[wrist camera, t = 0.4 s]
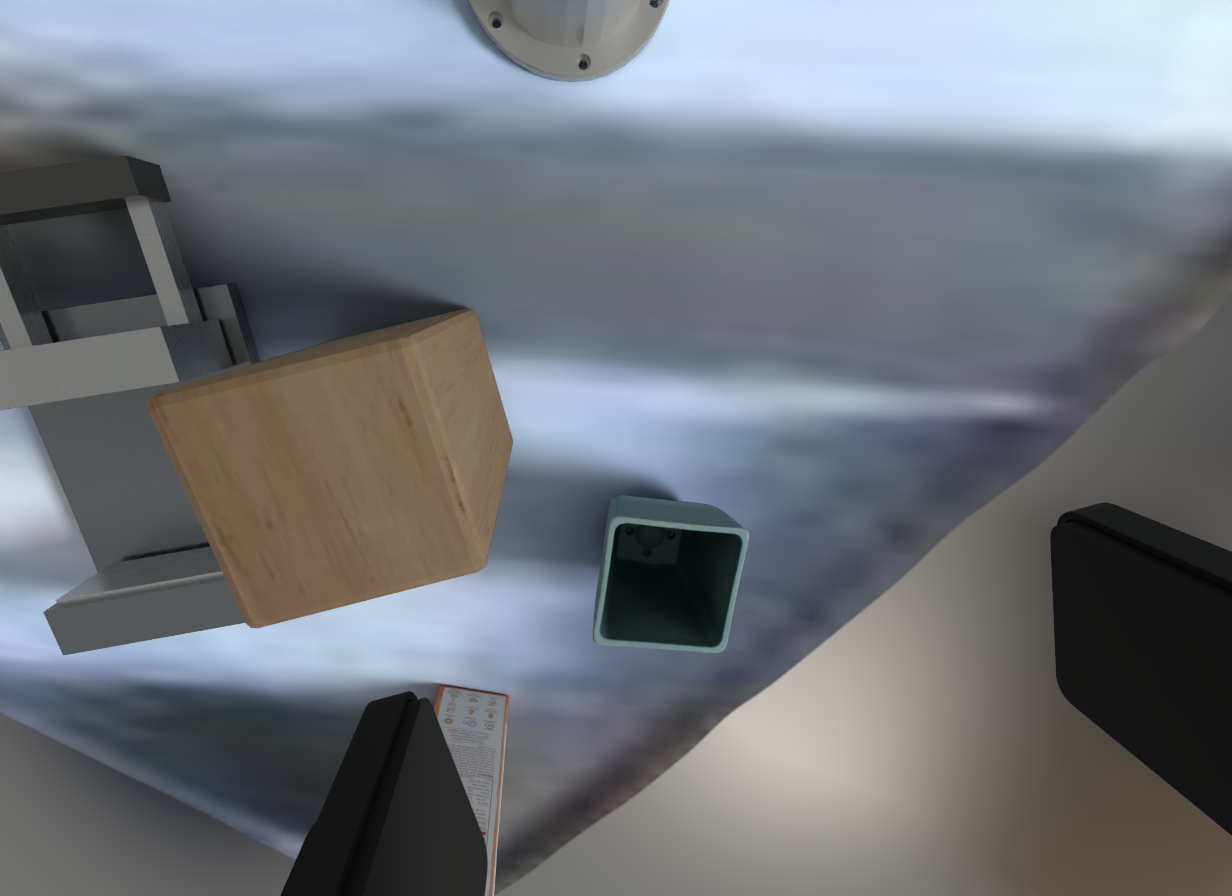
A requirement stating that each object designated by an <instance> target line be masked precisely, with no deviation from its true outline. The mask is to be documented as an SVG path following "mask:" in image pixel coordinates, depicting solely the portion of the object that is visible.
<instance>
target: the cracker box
mask: <svg viewBox="0 0 1232 896" xmlns="http://www.w3.org/2000/svg"><path fill="white" fill-rule="evenodd" d="M508 704H509V696H507V695H501V694H494V693H488V692H482V691H476V690H469V689H463V688H457V687H451V686H444V685H441V686H440V688H439V692H438V696H437V699H436V703H435V707H434V711H435V714H436V717H437V719H438V722H439V724H440V727H441V729H442V732H443V735H444V737H445V740H446V742H447V745H448V747H449V750H450V753H451V755H452V758H453V760H454V763H455V765H456V768H457V770H458V773H459V776H460V778H461V781H462V783H463V786H464V788H465V791H466V794H467V796H468V799H469V801H470V804H471V806H472V809H473V811H474V814H475V817H476V819H477V822H478V824H479V827H480V829H481V832H482V835H483V837H484V840H485V844H486V849H487V857H488V870H487V880H486V889H485V896H494V886H495V871H496V856H497V843H498V831H499V819H500V807H501V794H502V781H503V769H504V755H505V743H506V727H507V714H508Z"/></svg>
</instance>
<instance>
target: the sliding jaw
mask: <svg viewBox="0 0 1232 896" xmlns="http://www.w3.org/2000/svg"><path fill="white" fill-rule="evenodd" d="M165 202H171V199H170V196H169V193H168V190H167V187H166V184H165V181H164V178H163V175H162V171H161V168H160V165H157V164H153V163H150V162H146V161H143V160H139V159H135V158H132V157H128V156H120V157H113V158H106V159H98V160H91V161H83V162H76V163H69V164H61V165H54V166H46V167H39V168H32V169H24V170H17V171H10V172H2V173H0V323H1V326H2V328H3V330H4V333H5V335H6V338H7V340H8V342H9V345H10V347H11V349H10V350H3V351H0V410H4V409H10V408H16V407H23V406H29V405H36V404H42V403H48V402H55V401H61V400H68V399H74V398H80V397H87V396H93V395H99V394H106V393H112V392H119V391H125V390H131V389H138V388H144V387H151V386H157V385H163V384H170V383H176V382H181V381H185V380H188V379H192V378H195V377H199V376H202V375H206V374H209V373H213V372H216V371H220V370H223V369H227V368H230V367H233V365H232V361H231V358H230V355H229V352H228V349H227V346H226V343H225V340H224V336H223V333H222V330H221V327H220V324H219V321H218V319H216V320H208V321H203V319H202V316H201V313H200V310H199V307H198V304H197V301H196V298H195V295H194V292H193V289H192V286H191V282H190V279H189V276H188V273H187V270H186V267H185V264H184V261H183V258H182V255H181V252H180V249H179V246H178V243H177V240H176V237H175V234H174V231H173V227H172V224H171V221H170V218H169V215H168V212H167V209H166V206H165ZM122 208H128V210H129V213H130V216H131V219H132V222H133V225H134V228H135V231H136V234H137V237H138V239H139V242H140V245H141V248H142V251H143V254H144V257H145V260H146V263H147V266H148V269H149V271H150V274H151V277H152V280H153V283H154V286H155V289H156V292H157V295H158V298H159V301H160V303H161V306H162V309H163V312H164V315H165V318H166V321H167V324H168V326H162V327H155V328H149V329H142V330H135V331H129V332H122V333H116V334H109V335H102V336H96V337H89V338H83V339H76V340H69V341H63V342H56V343H53V341H52V339H51V336H50V334H49V331H48V329H47V326H46V324H45V321H44V319H43V316H42V314H41V311H40V309H39V306H38V304H37V301H36V298H35V296H34V293H33V291H32V288H31V286H30V283H29V281H28V278H27V276H26V273H25V271H24V268H23V266H22V263H21V261H20V258H19V256H18V253H17V251H16V248H15V246H14V243H13V241H12V238H11V236H10V233H9V231H8V228H7V226H6V225H8V224H15V223H22V222H29V221H37V220H44V219H51V218H58V217H65V216H72V215H79V214H87V213H94V212H101V211H108V210H115V209H122Z"/></svg>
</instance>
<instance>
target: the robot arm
mask: <svg viewBox="0 0 1232 896" xmlns="http://www.w3.org/2000/svg"><path fill="white" fill-rule="evenodd" d="M652 1H654V2H656V3H657V8H653V7H652V6H651V5H650V2H652ZM469 2H470V5H471V8H472V10H473V12H474V14H475V16H476V17H477V19H478V21H479V23H480V25H481V26H482V28H483V30H484V31H485V33H486V34H487V35H488V36H489V38H490V39H491V40H492V41H493V43H494V44H495V45H496V46H497V48H499V49H500V50H501V51H502V52H503V53H504V54H505V55H507V56H508V57H509V58H510V59H511V60H512V61H513V62H515V63H516V64H518V65H520V66H522V67H523V68H525V69H527V70H528V71H530V72H532V73H534V74H537V75H540V76H543V77H546V78H548V79H552V80H559V81H567V82H577V81H589V80H593V79H596V78H600V77H603V76H606V75H609V74H611V73H612V72H614V71H616V70H618V69H620V68H621V67H623V66H625V65H626V64H627V63H629V62H630V61H631V60H632V59H633V58H634V57H636V56H637V55H638V54H639V53H640V52H641V51H642V50H643V48H644V47H645V46H646V45H647V43H648V42H649V41H650V40H651V38H652V37H653V36H654V34H655V32H656V30H657V28H658V26H659V24H660V22H661V20H662V18H663V16H664V14H665V11H666V9H667V6H668V4H669V0H469ZM495 21H499V22H500V23H501V26H500V27H499V28H494V27H493V23H494V22H495ZM582 62H584V63H585V64H586V65H587V68H586V69H585V70H582V69H580V67H579V64H580V63H582ZM1050 538H1051V539H1050V541H1051V564H1052V588H1053V610H1054V635H1055V656H1056V677H1057V682H1058V685H1059V688H1060V689H1061V691H1062V693H1063V695H1064V696H1065V697H1066V699H1067V700H1068V701H1069V702H1070V703H1071V704H1072V705H1073V706H1074V707H1076V708H1077V709H1078V710H1079V711H1081V712H1082V713H1083V714H1084V715H1085V716H1087V717H1088V718H1089V719H1090V720H1092V721H1093V722H1094V723H1095V724H1096V725H1098V726H1099V727H1100V728H1101V729H1102V730H1104V731H1105V732H1106V733H1107V734H1108V735H1110V736H1111V737H1112V738H1113V739H1115V740H1116V741H1117V742H1118V743H1120V744H1121V745H1122V746H1123V747H1125V748H1126V749H1127V750H1128V751H1129V752H1130V753H1132V754H1133V755H1134V756H1135V757H1137V758H1138V759H1139V760H1140V761H1142V762H1143V763H1144V764H1145V765H1146V766H1148V767H1149V768H1150V769H1151V770H1152V771H1154V772H1155V773H1156V774H1157V775H1159V776H1160V777H1161V778H1162V779H1163V780H1165V781H1166V782H1167V783H1168V784H1170V785H1171V786H1172V787H1173V788H1175V789H1176V790H1177V791H1178V792H1179V793H1180V794H1182V795H1183V796H1184V797H1185V798H1187V799H1188V800H1189V801H1190V802H1191V803H1193V804H1194V805H1195V806H1196V807H1198V808H1199V809H1200V810H1201V811H1202V812H1204V813H1205V814H1206V815H1208V816H1209V817H1210V818H1211V819H1212V820H1214V821H1215V822H1216V823H1217V824H1218V825H1220V826H1221V827H1222V828H1223V829H1224V830H1226V831H1227V832H1228V833H1230V834H1231V835H1232V552H1231V551H1228V550H1226V549H1223V548H1221V547H1219V546H1216V545H1214V544H1211V543H1208V542H1206V541H1204V540H1201V539H1199V538H1196V537H1194V536H1191V535H1189V534H1186V533H1184V532H1181V531H1179V530H1176V529H1174V528H1171V527H1169V526H1166V525H1164V524H1161V523H1159V522H1157V521H1154V520H1151V519H1149V518H1147V517H1144V516H1141V515H1139V514H1137V513H1134V512H1132V511H1129V510H1127V509H1124V508H1122V507H1119V506H1117V505H1114V504H1110V503H1099V504H1095V505H1092V506H1088V507H1084V508H1080V509H1077V510H1073V511H1070V512H1066V513H1064V514H1063V515H1061V516H1060V518H1059V520H1058V522H1057V526H1055V527H1054V528H1053V529H1052V531H1051V536H1050ZM487 870H488V857H487V849H486V844H485V840H484V837H483V835H482V832H481V829H480V827H479V824H478V822H477V819H476V817H475V814H474V811H473V809H472V806H471V804H470V801H469V799H468V796H467V794H466V791H465V788H464V786H463V783H462V781H461V778H460V776H459V773H458V770H457V768H456V765H455V763H454V760H453V758H452V755H451V753H450V750H449V747H448V745H447V742H446V740H445V737H444V735H443V732H442V729H441V727H440V724H439V722H438V719H437V717H436V714H435V711H434V709H433V706H432V704H431V702H430V701H429V700H428V699H427V698H422V699H419V700H418V699H417V697H416V696H415V694H414V693H413V692H410V691H408V692H404V693H401V694H397V695H393V696H390V697H386V698H382V699H379V700H375V701H372V702H370V703H368V705H367V707H366V708H365V710H364V713H363V715H362V717H361V720H360V722H359V724H358V727H357V729H356V731H355V734H354V736H353V738H352V741H351V743H350V745H349V748H348V750H347V752H346V755H345V757H344V759H343V762H342V764H341V766H340V769H339V771H338V773H337V776H336V778H335V780H334V783H333V785H332V787H331V790H330V792H329V794H328V797H327V799H326V801H325V804H324V806H323V808H322V811H321V813H320V815H319V818H318V820H317V822H316V823H315V824H314V825H313V826H312V828H311V829H310V831H309V833H308V834H307V836H306V838H305V841H304V843H303V845H302V847H301V850H300V852H299V854H298V857H297V859H296V861H295V863H294V866H293V868H292V870H291V873H290V875H289V877H288V880H287V882H286V884H285V887H284V889H283V891H282V893H281V896H485V889H486V880H487Z"/></svg>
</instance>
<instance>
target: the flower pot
mask: <svg viewBox="0 0 1232 896" xmlns="http://www.w3.org/2000/svg"><path fill="white" fill-rule="evenodd" d="M628 527H631V528H632V529H633V531H632V532H631V533H627V531H626V529H627V528H628ZM670 531H673V532H674V534H675V535H674V536H673V537H669V536H668V533H669V532H670ZM748 541H749V532H748V531H747V530H746V529H745V528H743V527H742V526H741V525H740V524H739V523H737V522H736V521H735V520H734V519H732V518H731V517H730V516H729V515H727V514H726V513H725V512H723V511H722V510H720V509H719V508H717V507H714V506H711V505H708V504H702V503H693V502H682V501H673V500H663V499H653V498H644V497H635V496H627V495H618V496H615V497H614V498H613V499H612V500H611V502H610V504H609V509H608V516H607V523H606V530H605V538H604V545H603V552H602V559H601V566H600V572H599V579H598V586H597V592H596V599H595V610H594V624H593V640H594V642H595V643H597V644H600V645H607V646H609V645H610V646H625V647H641V648H656V649H669V650H681V651H695V652H707V653H719V652H722V651H724V649H725V647H726V644H727V641H728V636H729V630H730V625H731V620H732V615H733V609H734V604H735V600H736V595H737V590H738V585H739V582H740V577H741V573H742V568H743V563H744V559H745V554H746V550H747V546H748ZM646 549H650V550H651V552H650V553H649V554H645V553H644V550H646Z"/></svg>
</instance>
